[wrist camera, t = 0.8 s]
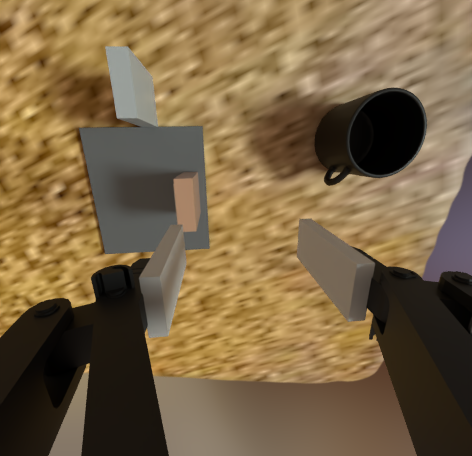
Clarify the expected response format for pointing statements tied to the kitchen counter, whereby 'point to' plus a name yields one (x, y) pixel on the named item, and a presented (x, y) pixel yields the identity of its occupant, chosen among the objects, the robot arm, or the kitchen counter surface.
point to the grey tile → (131, 88)
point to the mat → (143, 183)
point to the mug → (371, 135)
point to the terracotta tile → (187, 200)
